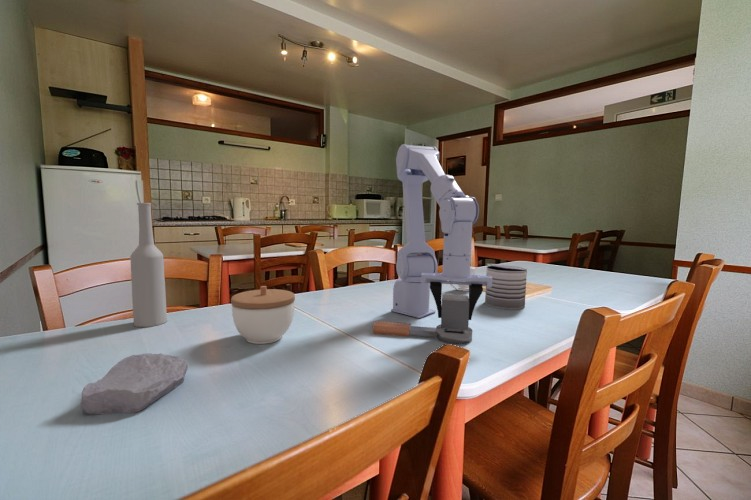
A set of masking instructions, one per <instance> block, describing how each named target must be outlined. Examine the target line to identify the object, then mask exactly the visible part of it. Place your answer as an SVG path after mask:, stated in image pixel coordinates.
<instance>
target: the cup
mask: <svg viewBox="0 0 751 500" xmlns="http://www.w3.org/2000/svg"><path fill="white" fill-rule="evenodd" d="M476 269H477V268H476V267H474V266H471V265H470V274H471V275H476V274H475V273H476ZM449 285H450V286H451V287H452V288H453V289H455V290H457V291H461V290H463V292H469V285H458V284H457V287H458V288H457V287H455V286H454V284H449Z"/></svg>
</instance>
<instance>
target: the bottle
mask: <svg viewBox="0 0 751 500" xmlns="http://www.w3.org/2000/svg"><path fill="white" fill-rule="evenodd" d="M136 205H137V207H138V210H137V211H138V245H137V247H136V248H135V249H134V251H133V252H132V253H131V255H130V257H129V259H130V274H131V275H130V277H131V279H130V280H131V299H132V316H133V318H132V319H133V326H134V327H136V328H150V327H156V326H157V327H158V326H160V325H163V324H166V323H167V322H168V317H167V315H168V314H167V298H166V297H167V296H166V295H167V293H166V281H165V280H166V279H165V263H164V254H163V252H162V251H161V250H160V249H159V248H158V247H157V246H156V245H155V240H154V233H153V223H152V221H153V220H152V207H151V206H152V203H151V202H137V203H136Z"/></svg>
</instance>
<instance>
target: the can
mask: <svg viewBox="0 0 751 500" xmlns="http://www.w3.org/2000/svg"><path fill="white" fill-rule="evenodd" d="M486 265H488V266H486V275H485V276H491V277H492V287H487V286H485V297H484V298H485V300H484V303H485V305H486V306H489V307H491V308H494V309H495V308H496V309H500V310H501V309H502V310H522V309H523V308H525V307H526V306H525V305H526V291H527V275H528V274H527V273H528V272H527V270H528V269H527V268H525V267H521V266H515V265H508V264H498V263H486Z"/></svg>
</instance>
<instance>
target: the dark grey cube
mask: <svg viewBox="0 0 751 500" xmlns="http://www.w3.org/2000/svg"><path fill="white" fill-rule="evenodd" d="M441 304H442V312H441V318H440V319H441V320H440V324H441V328H447V329H459V330H468V327H469V321H470V320H469V295H466V294H465V295H463V294H450V293H442V294H441Z"/></svg>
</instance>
